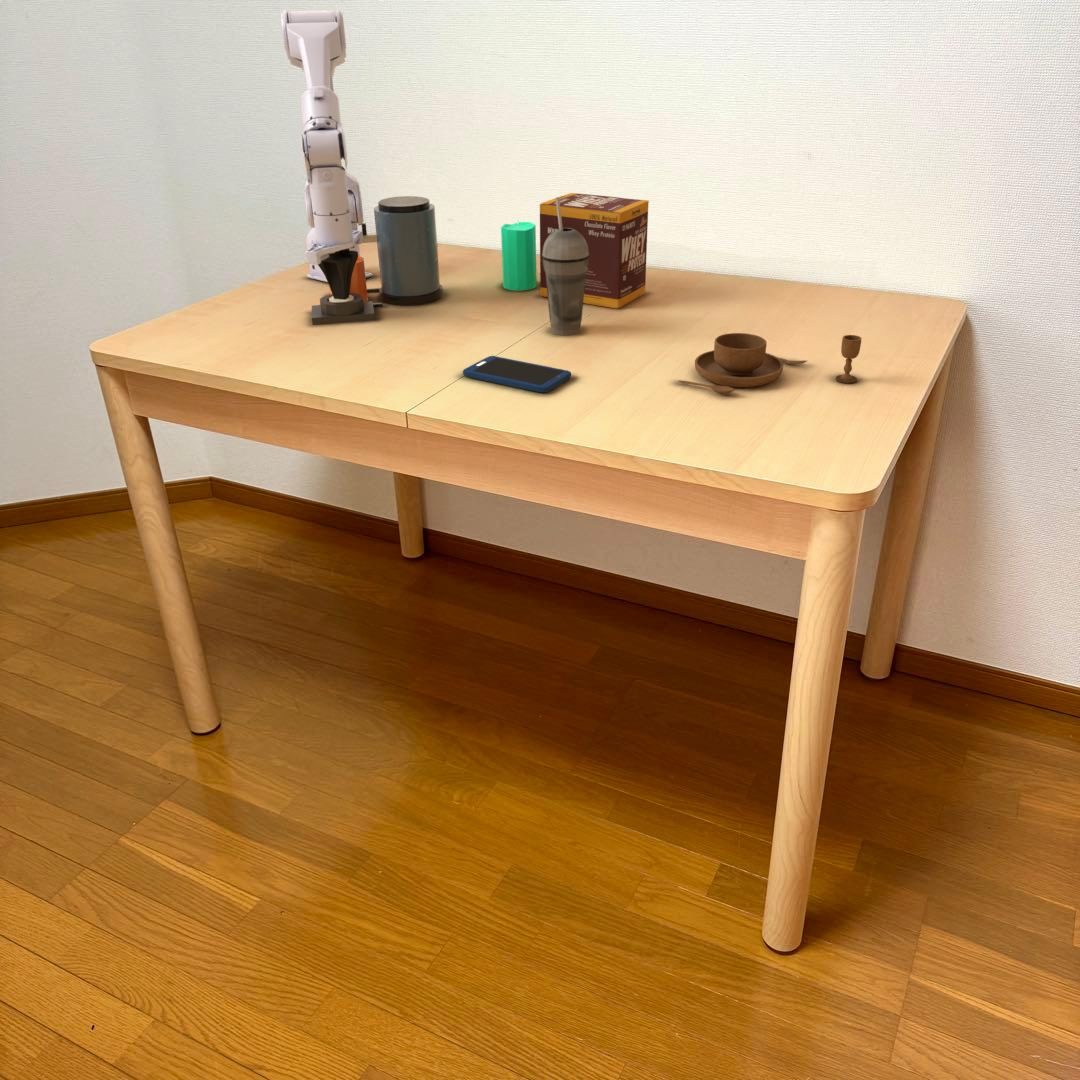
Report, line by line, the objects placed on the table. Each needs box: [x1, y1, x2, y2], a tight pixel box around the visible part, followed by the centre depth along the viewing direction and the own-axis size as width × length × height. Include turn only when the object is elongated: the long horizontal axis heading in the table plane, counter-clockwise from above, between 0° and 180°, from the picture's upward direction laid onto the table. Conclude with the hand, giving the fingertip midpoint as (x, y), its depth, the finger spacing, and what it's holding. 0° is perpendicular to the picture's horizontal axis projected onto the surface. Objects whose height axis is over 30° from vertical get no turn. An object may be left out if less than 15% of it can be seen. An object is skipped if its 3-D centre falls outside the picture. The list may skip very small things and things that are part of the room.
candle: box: [500, 221, 538, 292], centre depth 177 cm, size 6×6×12 cm
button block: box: [311, 293, 376, 326], centre depth 166 cm, size 10×7×3 cm
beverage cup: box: [541, 196, 590, 336], centre depth 153 cm, size 7×7×20 cm
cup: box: [328, 255, 369, 302], centre depth 172 cm, size 6×6×7 cm
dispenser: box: [351, 195, 444, 309], centre depth 171 cm, size 19×11×16 cm, turn 101°
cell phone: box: [462, 355, 572, 394], centre depth 141 cm, size 7×14×1 cm, turn 58°
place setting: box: [677, 332, 862, 394], centre depth 136 cm, size 18×20×6 cm
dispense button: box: [329, 295, 354, 303], centre depth 165 cm, size 4×4×2 cm
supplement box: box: [539, 192, 650, 309], centre depth 171 cm, size 10×15×16 cm
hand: (341, 298), depth 165 cm, fingers closed, pressing on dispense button
